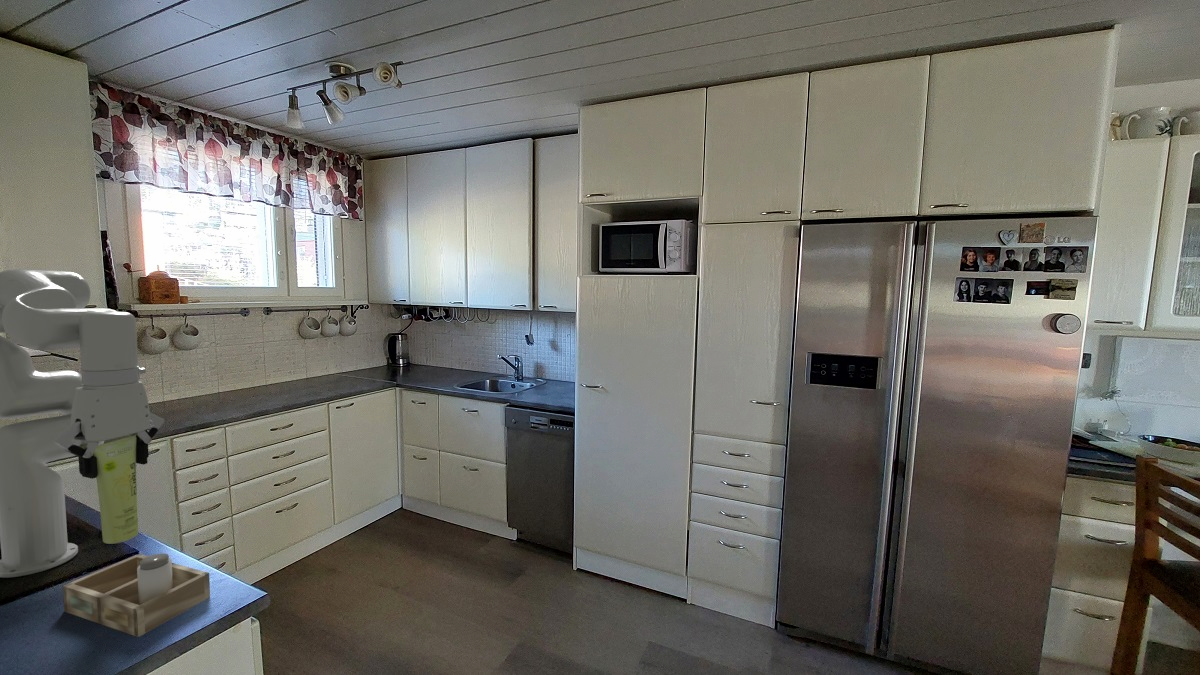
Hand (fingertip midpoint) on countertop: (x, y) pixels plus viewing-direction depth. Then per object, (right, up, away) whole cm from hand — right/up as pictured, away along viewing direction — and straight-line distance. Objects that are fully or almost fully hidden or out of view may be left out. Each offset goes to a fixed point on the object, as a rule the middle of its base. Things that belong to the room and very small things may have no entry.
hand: (115, 469), depth 93 cm
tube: (-1, -14, +1) cm, 14 cm away
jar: (+8, -26, 0) cm, 28 cm away
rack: (+3, -27, +1) cm, 27 cm away
